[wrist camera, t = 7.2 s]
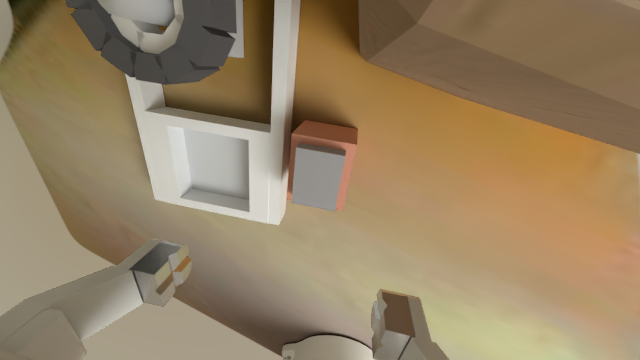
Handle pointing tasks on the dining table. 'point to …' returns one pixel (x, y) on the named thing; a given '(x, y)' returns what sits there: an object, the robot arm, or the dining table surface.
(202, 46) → the wheel
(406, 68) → the wooden block
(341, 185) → the two-tone grey-capped cube
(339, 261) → the dining table surface
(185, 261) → the robot arm
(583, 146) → the dining table surface
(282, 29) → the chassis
